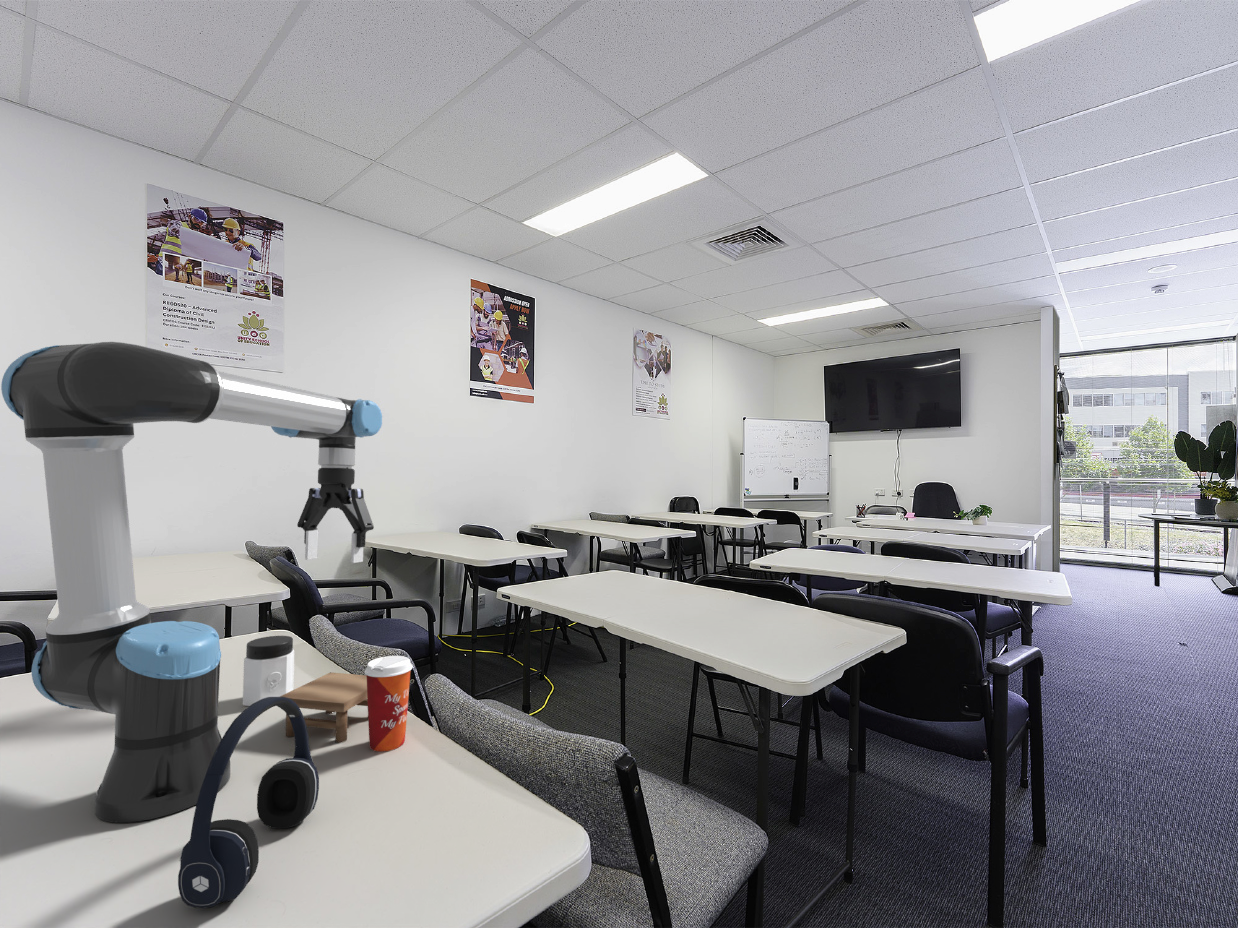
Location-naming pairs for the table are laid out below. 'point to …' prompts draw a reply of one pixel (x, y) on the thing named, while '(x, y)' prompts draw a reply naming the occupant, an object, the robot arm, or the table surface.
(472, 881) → the table surface
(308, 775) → the headphones
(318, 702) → the stool
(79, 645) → the robot arm
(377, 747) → the paper cup
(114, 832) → the table surface
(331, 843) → the table surface
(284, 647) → the jar
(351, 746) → the table surface
